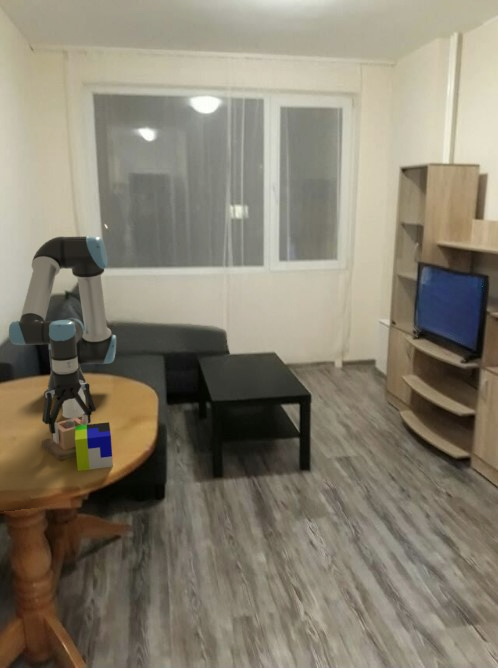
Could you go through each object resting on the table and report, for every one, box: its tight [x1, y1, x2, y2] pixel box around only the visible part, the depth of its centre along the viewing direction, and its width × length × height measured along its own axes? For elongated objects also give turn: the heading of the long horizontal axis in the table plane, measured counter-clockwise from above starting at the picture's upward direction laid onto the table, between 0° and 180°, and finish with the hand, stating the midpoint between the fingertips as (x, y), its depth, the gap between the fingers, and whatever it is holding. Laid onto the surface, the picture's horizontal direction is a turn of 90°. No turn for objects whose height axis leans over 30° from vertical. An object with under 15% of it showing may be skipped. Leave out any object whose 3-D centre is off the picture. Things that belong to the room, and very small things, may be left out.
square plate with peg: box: [41, 419, 77, 462], centre depth 174 cm, size 14×14×8 cm
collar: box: [56, 417, 87, 450], centre depth 174 cm, size 8×8×6 cm
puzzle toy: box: [75, 422, 114, 472], centre depth 165 cm, size 10×10×10 cm
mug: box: [61, 380, 87, 419], centre depth 198 cm, size 12×8×12 cm
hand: (71, 437), depth 175 cm, fingers open, 9 cm apart
